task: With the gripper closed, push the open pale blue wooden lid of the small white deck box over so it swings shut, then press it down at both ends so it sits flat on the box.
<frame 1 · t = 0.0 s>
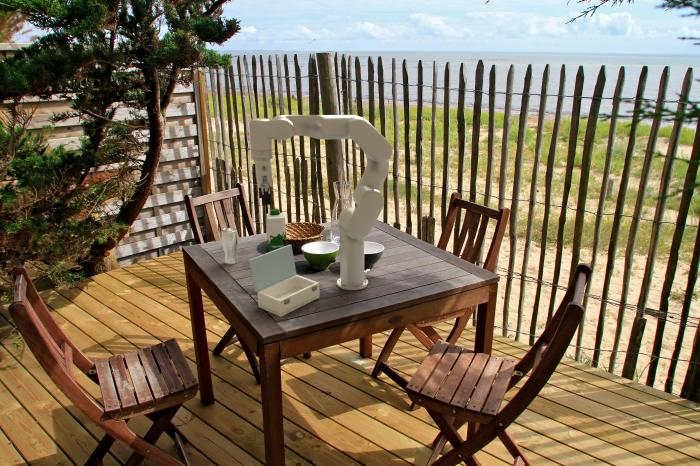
hand: (264, 201, 191), 37 cm above the table, tool pointing down, fingers open, 9 cm apart
milk carton: (277, 252, 245), on the table
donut: (330, 248, 250), on the table
lid: (273, 267, 197), point 12 cm above the table, hinge at 100.0°
deck box: (289, 301, 196), on the table
beer glass: (231, 262, 234), on the table
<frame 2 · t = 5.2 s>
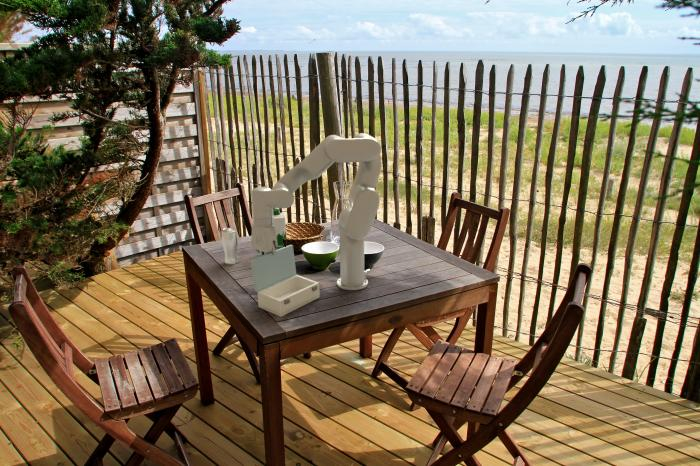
hand: (266, 266, 200), 11 cm above the table, tool pointing down, fingers closed
lid: (274, 267, 197), point 12 cm above the table, hinge at 96.0°, touching gripper
everything else where it was.
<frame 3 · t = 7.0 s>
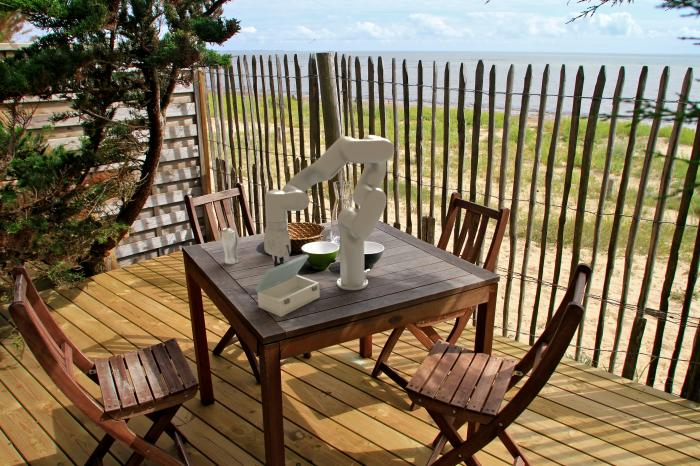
hand: (279, 271, 195), 11 cm above the table, tool pointing down, fingers closed
lid: (282, 272, 195), point 11 cm above the table, hinge at 51.8°, touching gripper
everything else where it was.
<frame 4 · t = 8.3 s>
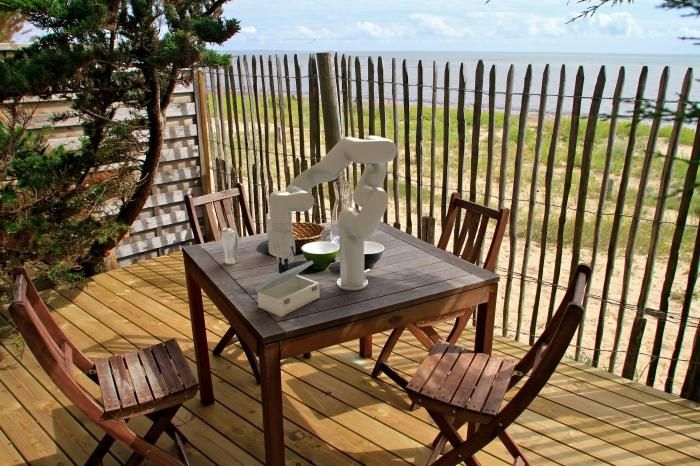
hand: (283, 272, 194), 11 cm above the table, tool pointing down, fingers closed
lid: (284, 275, 194), point 10 cm above the table, hinge at 36.8°, touching gripper
everything else where it was.
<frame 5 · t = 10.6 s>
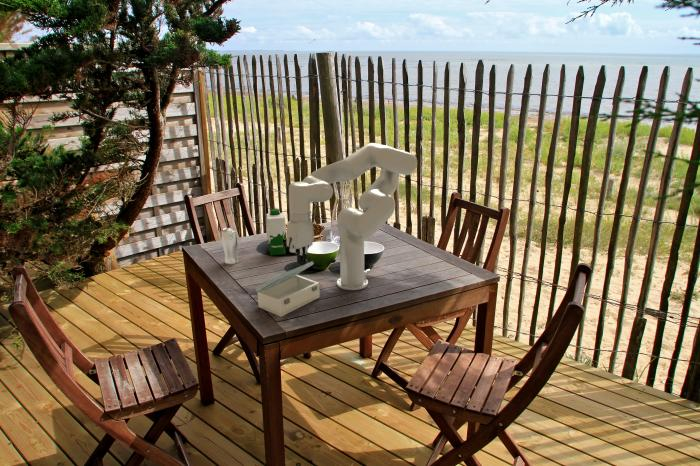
hand: (301, 263, 195), 14 cm above the table, tool pointing down, fingers closed
lid: (285, 276, 194), point 10 cm above the table, hinge at 35.1°
everything else where it was.
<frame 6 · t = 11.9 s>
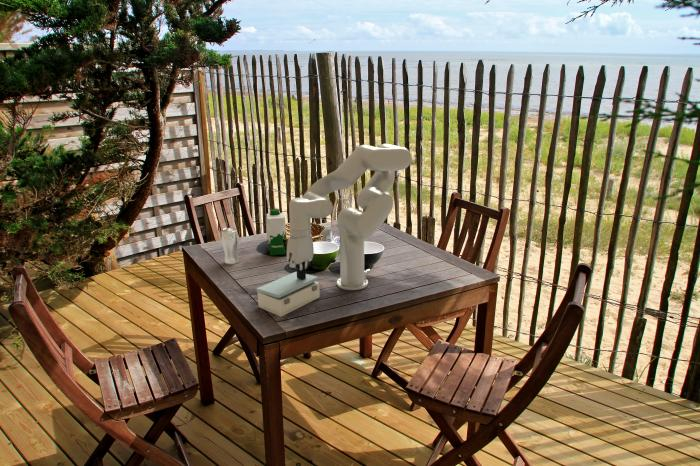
hand: (301, 278, 197), 8 cm above the table, tool pointing down, fingers closed
lid: (288, 284, 194), point 7 cm above the table, hinge at 4.9°, touching gripper
everything else where it was.
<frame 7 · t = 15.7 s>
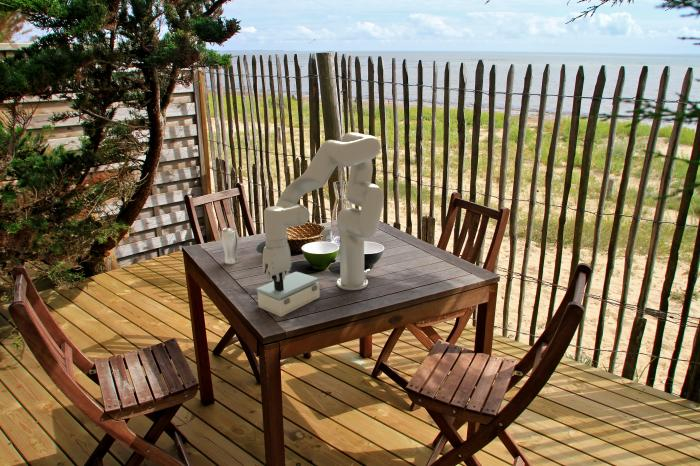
hand: (279, 289, 188), 8 cm above the table, tool pointing down, fingers closed
lid: (288, 284, 194), point 7 cm above the table, hinge at 2.5°, touching gripper
everything else where it was.
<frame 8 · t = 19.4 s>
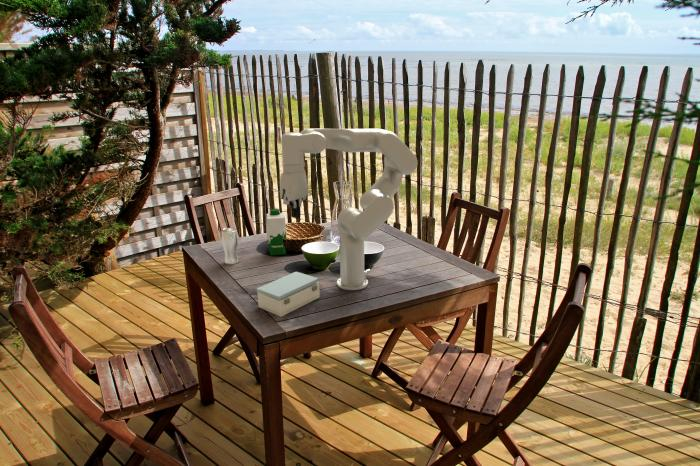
hand: (295, 217, 192), 31 cm above the table, tool pointing down, fingers closed
lid: (288, 284, 194), point 7 cm above the table, hinge at 1.9°
everything else where it was.
at the end: lid at +2° (first picture: +100°) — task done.
